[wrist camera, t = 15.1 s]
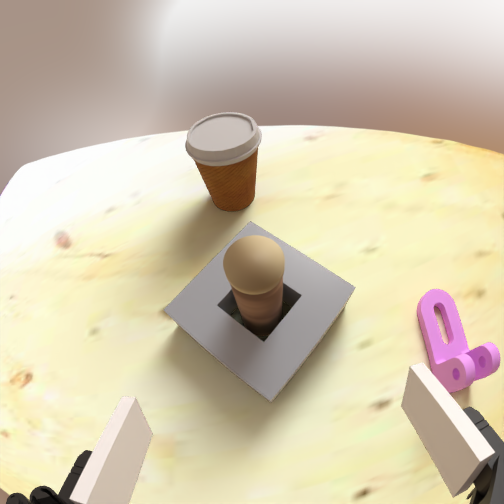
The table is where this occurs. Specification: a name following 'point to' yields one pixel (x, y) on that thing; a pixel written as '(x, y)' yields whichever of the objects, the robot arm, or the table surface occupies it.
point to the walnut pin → (256, 281)
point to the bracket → (453, 345)
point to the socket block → (284, 335)
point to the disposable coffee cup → (226, 157)
